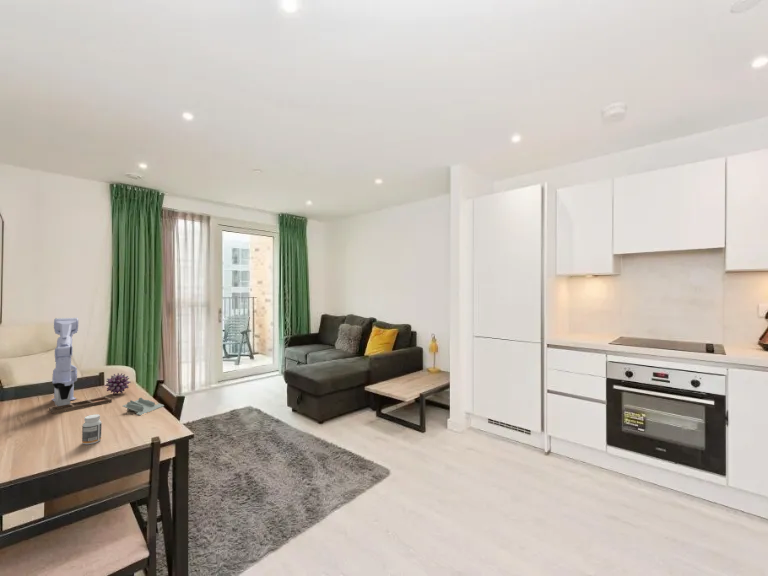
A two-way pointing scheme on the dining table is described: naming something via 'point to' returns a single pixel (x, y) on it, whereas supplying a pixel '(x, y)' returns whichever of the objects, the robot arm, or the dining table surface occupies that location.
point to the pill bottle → (91, 429)
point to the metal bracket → (142, 406)
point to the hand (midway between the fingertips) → (62, 398)
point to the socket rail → (79, 405)
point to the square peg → (58, 398)
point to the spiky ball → (117, 383)
